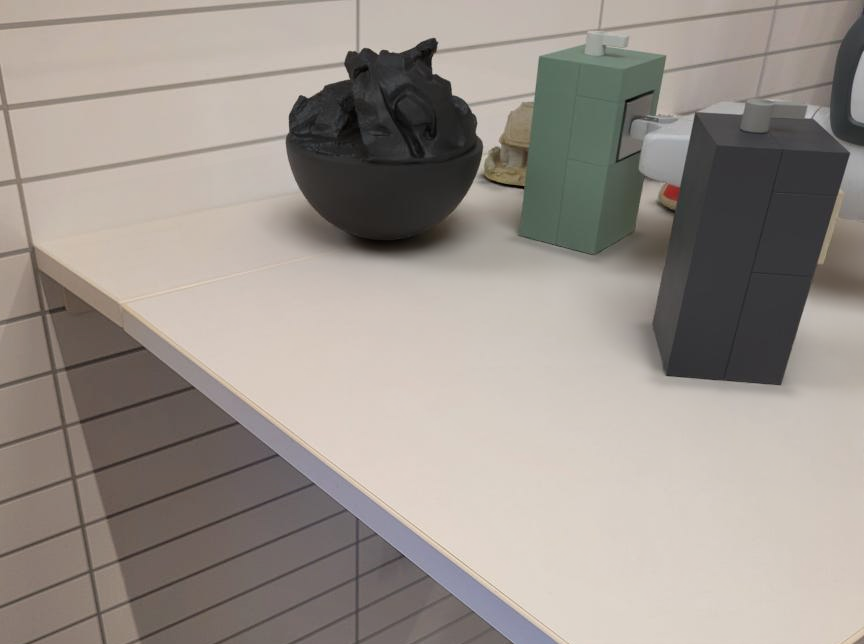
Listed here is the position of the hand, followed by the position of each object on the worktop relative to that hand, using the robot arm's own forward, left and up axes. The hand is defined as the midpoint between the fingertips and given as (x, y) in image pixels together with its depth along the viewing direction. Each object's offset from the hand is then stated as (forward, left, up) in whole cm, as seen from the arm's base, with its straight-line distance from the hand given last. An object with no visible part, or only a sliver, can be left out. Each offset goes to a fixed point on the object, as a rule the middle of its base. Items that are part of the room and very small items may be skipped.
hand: (636, 126), depth 94 cm
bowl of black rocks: (+25, +3, -12) cm, 28 cm away
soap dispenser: (+4, -2, -12) cm, 13 cm away
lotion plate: (-11, +26, -3) cm, 28 cm away
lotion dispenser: (-6, +26, -12) cm, 29 cm away
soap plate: (+1, 0, -3) cm, 3 cm away
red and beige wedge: (-10, -13, -12) cm, 21 cm away
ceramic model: (+8, -21, -12) cm, 26 cm away
